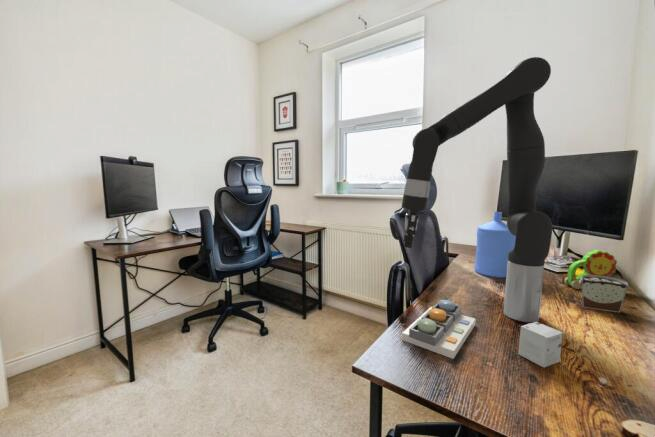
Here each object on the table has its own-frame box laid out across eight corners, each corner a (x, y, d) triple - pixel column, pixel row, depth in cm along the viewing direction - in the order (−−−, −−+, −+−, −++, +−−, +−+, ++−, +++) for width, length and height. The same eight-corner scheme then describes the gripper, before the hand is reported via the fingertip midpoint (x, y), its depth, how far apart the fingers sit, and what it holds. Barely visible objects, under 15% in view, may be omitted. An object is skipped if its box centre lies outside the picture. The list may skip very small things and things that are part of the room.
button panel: (475, 324, 85) (476, 310, 85) (452, 360, 68) (453, 343, 67) (431, 311, 93) (432, 299, 93) (400, 341, 76) (401, 326, 76)
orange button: (448, 318, 81) (448, 311, 81) (442, 324, 78) (443, 317, 77) (432, 313, 84) (432, 307, 84) (426, 319, 81) (427, 312, 80)
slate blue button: (456, 308, 87) (456, 302, 87) (452, 313, 84) (452, 307, 84) (441, 304, 90) (441, 298, 90) (436, 309, 87) (437, 303, 86)
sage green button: (438, 329, 75) (438, 322, 75) (432, 336, 72) (432, 329, 71) (421, 324, 78) (422, 317, 78) (415, 330, 74) (415, 323, 74)
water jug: (521, 278, 125) (527, 214, 121) (485, 278, 125) (489, 214, 122) (500, 267, 140) (505, 210, 137) (468, 267, 141) (471, 210, 137)
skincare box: (544, 368, 65) (547, 338, 64) (517, 354, 71) (520, 325, 70) (560, 362, 68) (563, 332, 67) (533, 348, 73) (535, 320, 72)
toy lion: (572, 289, 112) (577, 251, 110) (563, 284, 118) (567, 248, 116) (617, 291, 111) (622, 252, 109) (605, 286, 116) (610, 249, 114)
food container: (616, 305, 98) (620, 277, 97) (626, 313, 92) (630, 283, 91) (570, 299, 103) (574, 272, 102) (577, 306, 97) (580, 277, 96)
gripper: (430, 197, 83) (420, 251, 86) (426, 195, 97) (417, 242, 100) (404, 193, 85) (395, 247, 87) (403, 192, 99) (395, 238, 101)
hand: (407, 244), depth 93 cm, fingers open, 8 cm apart
